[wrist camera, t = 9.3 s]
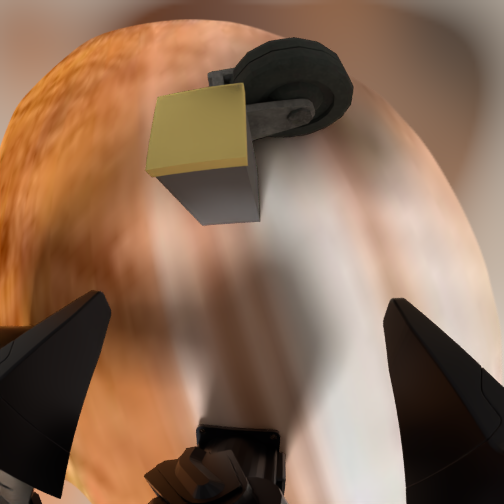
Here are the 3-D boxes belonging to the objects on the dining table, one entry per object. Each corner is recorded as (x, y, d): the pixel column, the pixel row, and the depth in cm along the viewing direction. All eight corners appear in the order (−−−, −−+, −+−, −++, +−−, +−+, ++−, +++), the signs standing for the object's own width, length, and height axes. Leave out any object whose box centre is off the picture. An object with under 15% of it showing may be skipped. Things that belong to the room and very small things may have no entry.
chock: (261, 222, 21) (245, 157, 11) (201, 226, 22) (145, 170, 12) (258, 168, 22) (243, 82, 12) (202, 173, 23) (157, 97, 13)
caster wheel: (324, 105, 24) (170, 120, 23) (349, 30, 14) (141, 45, 14) (340, 151, 23) (170, 170, 22) (379, 78, 13) (130, 97, 13)
